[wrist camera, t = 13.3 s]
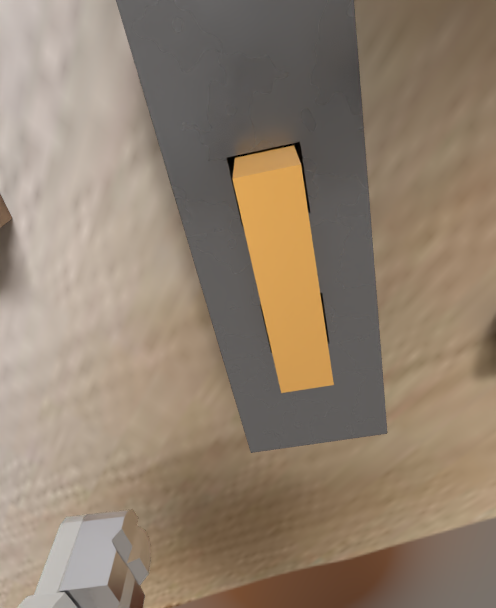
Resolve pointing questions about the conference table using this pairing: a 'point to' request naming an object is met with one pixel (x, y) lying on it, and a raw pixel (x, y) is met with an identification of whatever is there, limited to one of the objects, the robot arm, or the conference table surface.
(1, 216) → the holder
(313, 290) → the orange slab
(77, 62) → the conference table surface
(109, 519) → the robot arm
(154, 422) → the conference table surface
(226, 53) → the grey slotted block
